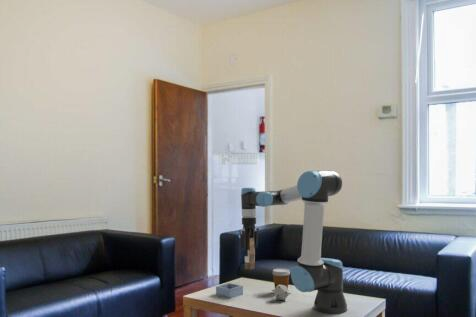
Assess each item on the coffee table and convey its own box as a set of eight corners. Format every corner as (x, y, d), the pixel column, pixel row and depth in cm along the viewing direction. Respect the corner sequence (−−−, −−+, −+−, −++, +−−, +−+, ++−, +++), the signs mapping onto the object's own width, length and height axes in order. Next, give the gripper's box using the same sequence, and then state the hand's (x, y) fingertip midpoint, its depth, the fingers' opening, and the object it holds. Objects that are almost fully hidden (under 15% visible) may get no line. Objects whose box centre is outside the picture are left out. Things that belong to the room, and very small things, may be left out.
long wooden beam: (254, 268, 235) (253, 237, 236) (250, 269, 233) (249, 238, 234) (249, 267, 238) (248, 237, 238) (245, 268, 235) (244, 238, 236)
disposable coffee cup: (289, 295, 232) (289, 272, 232) (271, 294, 234) (271, 271, 234) (291, 291, 241) (290, 268, 242) (273, 290, 243) (273, 268, 244)
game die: (285, 307, 225) (296, 290, 225) (278, 305, 218) (290, 288, 218) (272, 295, 230) (283, 279, 230) (265, 293, 223) (277, 277, 224)
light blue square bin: (242, 294, 236) (242, 285, 236) (230, 298, 228) (230, 289, 228) (229, 291, 242) (228, 282, 242) (216, 295, 235) (215, 286, 235)
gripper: (253, 215, 245) (254, 258, 244) (233, 217, 233) (234, 263, 232) (264, 216, 240) (265, 260, 239) (244, 218, 228) (245, 264, 227)
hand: (249, 261), depth 235 cm, fingers closed on long wooden beam, 3 cm apart
